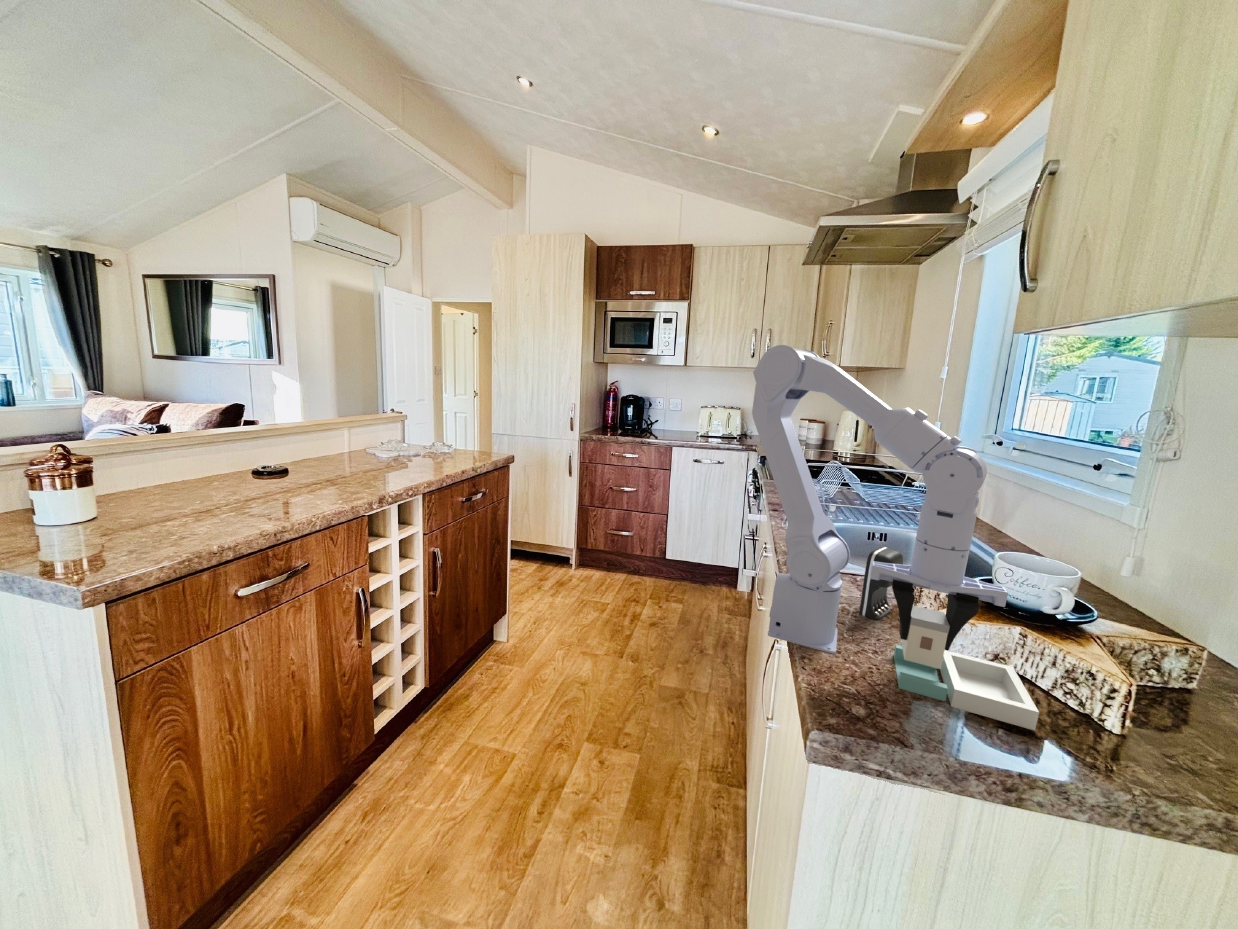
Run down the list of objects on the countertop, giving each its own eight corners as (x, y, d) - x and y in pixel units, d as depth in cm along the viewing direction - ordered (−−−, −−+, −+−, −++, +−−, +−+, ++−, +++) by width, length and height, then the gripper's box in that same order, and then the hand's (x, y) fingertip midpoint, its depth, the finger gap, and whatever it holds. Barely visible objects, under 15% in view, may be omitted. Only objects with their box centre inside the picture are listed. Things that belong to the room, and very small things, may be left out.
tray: (950, 708, 57) (954, 689, 57) (937, 666, 66) (941, 649, 66) (1034, 732, 54) (1039, 712, 54) (1009, 684, 63) (1012, 667, 62)
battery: (881, 625, 77) (892, 559, 75) (857, 616, 80) (867, 551, 78) (897, 613, 82) (908, 550, 80) (874, 605, 85) (883, 544, 83)
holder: (944, 703, 58) (947, 688, 58) (898, 690, 60) (900, 675, 60) (934, 667, 66) (936, 654, 66) (893, 657, 68) (895, 644, 68)
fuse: (903, 659, 62) (911, 617, 61) (901, 644, 65) (908, 604, 64) (941, 669, 60) (949, 626, 59) (936, 653, 64) (944, 612, 63)
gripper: (878, 540, 59) (862, 639, 62) (1024, 566, 53) (999, 675, 56) (876, 526, 66) (861, 616, 68) (1006, 547, 59) (984, 646, 62)
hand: (923, 641), depth 62 cm, fingers closed on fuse, 4 cm apart
